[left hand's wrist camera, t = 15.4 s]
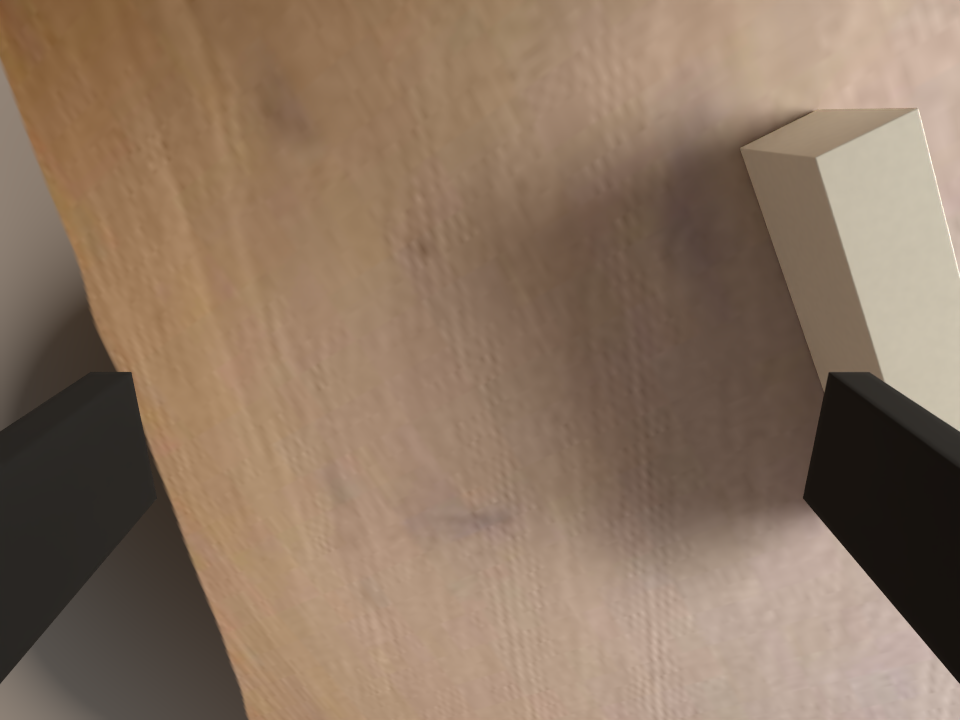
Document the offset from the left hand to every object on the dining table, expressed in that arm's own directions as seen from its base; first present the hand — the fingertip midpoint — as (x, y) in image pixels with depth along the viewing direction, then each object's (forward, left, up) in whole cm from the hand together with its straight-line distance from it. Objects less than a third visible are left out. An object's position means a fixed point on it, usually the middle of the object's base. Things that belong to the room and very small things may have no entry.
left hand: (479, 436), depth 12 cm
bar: (+6, +22, -27) cm, 35 cm away
